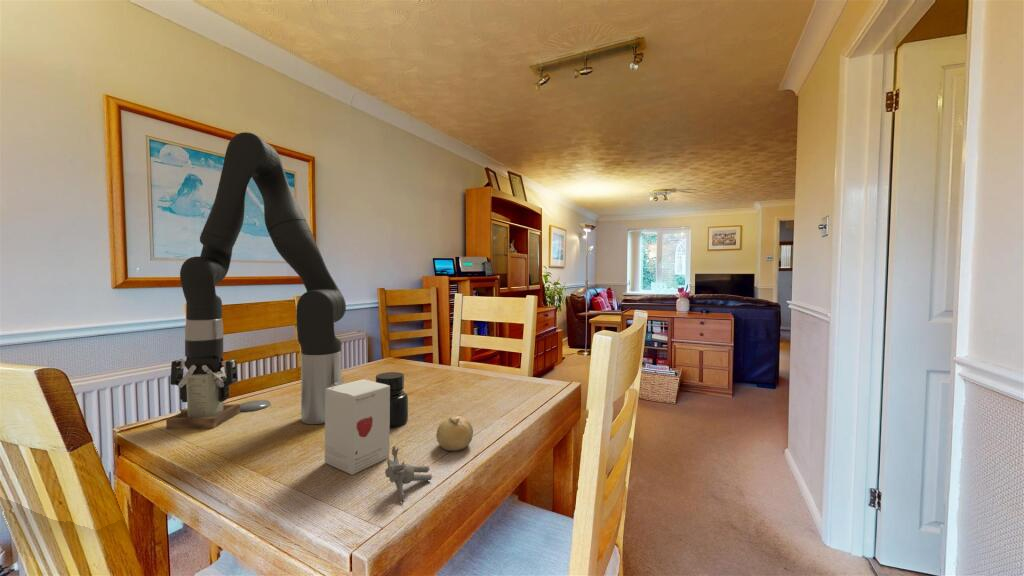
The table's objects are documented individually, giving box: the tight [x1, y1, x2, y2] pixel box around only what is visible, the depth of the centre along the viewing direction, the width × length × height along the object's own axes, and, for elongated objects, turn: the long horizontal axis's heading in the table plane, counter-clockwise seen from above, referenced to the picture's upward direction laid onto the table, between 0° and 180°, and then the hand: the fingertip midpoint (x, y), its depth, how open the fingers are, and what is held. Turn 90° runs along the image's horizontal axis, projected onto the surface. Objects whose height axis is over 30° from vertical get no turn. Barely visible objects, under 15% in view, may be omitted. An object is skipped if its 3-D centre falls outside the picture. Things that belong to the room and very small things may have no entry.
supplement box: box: [324, 378, 391, 476], centre depth 77 cm, size 9×9×15 cm
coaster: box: [239, 399, 271, 413], centre depth 107 cm, size 8×8×1 cm
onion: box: [435, 415, 474, 451], centre depth 84 cm, size 8×8×7 cm
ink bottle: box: [375, 371, 409, 429], centre depth 97 cm, size 10×9×12 cm
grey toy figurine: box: [384, 445, 433, 504], centre depth 67 cm, size 10×6×9 cm
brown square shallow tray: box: [165, 403, 241, 430], centre depth 97 cm, size 10×10×3 cm
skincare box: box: [186, 371, 224, 417], centre depth 96 cm, size 6×4×12 cm
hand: (204, 401), depth 97 cm, fingers open, 8 cm apart
